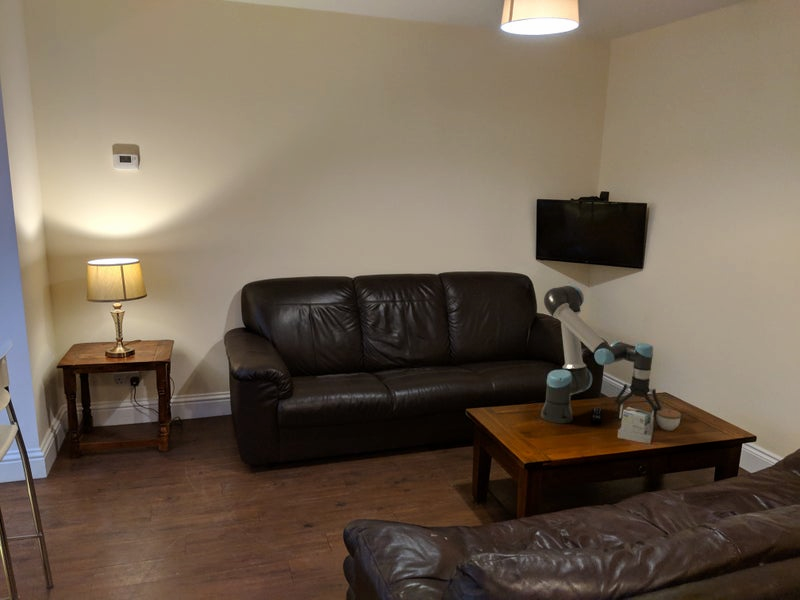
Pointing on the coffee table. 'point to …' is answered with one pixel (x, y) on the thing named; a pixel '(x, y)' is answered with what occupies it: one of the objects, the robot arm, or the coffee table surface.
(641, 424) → the light bulb box
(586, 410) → the coffee table surface
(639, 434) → the chute
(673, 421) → the lidded jar
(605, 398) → the coffee table surface
